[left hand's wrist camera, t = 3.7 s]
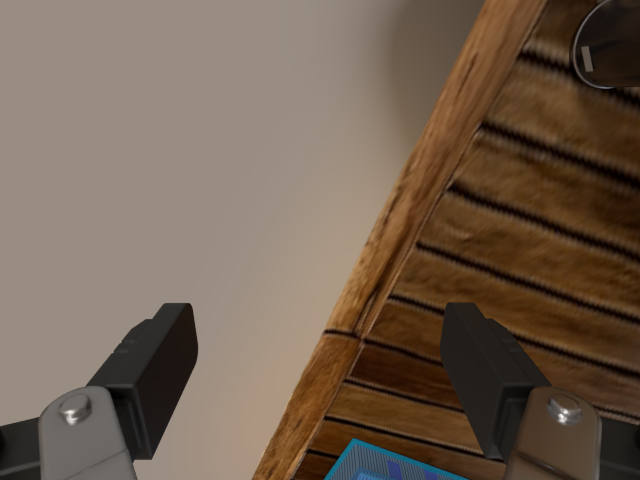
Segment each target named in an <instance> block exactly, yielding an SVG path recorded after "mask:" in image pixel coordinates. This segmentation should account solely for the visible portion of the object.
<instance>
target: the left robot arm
mask: <svg viewBox="0 0 640 480" xmlns="http://www.w3.org/2000/svg"><path fill="white" fill-rule="evenodd" d="M570 61H571V66H572V69H573V71H574V73H575V75H576V76H577V78H578V79H579V80H580V81H581V82H582V83H584V84H586V85H588V86H590V87H593V88H616V87H640V0H604V1H602V2H601V3H599V4H598V5H596V6H595V7H594V8H593V9H591V10H590V11H589V12H588V13H587V15H586V16H585V17H584V18H583V19H582V21H581V22H580V24H579V26H578V27H577V29H576V31H575V34H574V36H573V39H572V43H571V49H570ZM440 354H441V359H442V363H443V365H444V368H445V370H446V372H447V374H448V376H449V379H450V381H451V383H452V385H453V387H454V390H455V392H456V394H457V396H458V398H459V401H460V403H461V405H462V407H463V409H464V412H465V414H466V416H467V418H468V420H469V423H470V425H471V427H472V429H473V431H474V434H475V436H476V438H477V440H478V442H479V445H480V447H481V449H482V451H483V453H484V456H485V458H503V460H504V462H505V464H506V466H507V467H506V470H505V473H504V476H503V480H640V424H639V425H634V424H630V423H626V422H622V421H617V420H613V419H609V418H605V417H601V416H600V415H599V414H598V412H597V411H596V409H595V408H594V407H593V406H592V405H591V404H590V403H588V402H587V401H586V400H585V399H583V398H581V397H580V396H578V395H576V394H574V393H572V392H570V391H568V390H565V389H562V388H558V387H553V386H552V385H551V384H550V382H549V381H548V380H547V379H546V377H545V376H544V375H543V374H542V372H541V371H540V370H539V369H538V367H537V366H536V365H535V364H534V362H533V361H532V360H531V359H530V357H529V356H528V355H527V354H526V352H524V350H523V349H522V347H521V346H520V345H519V343H516V340H515V338H514V337H513V336H512V335H511V333H510V332H509V331H508V330H507V328H505V327H504V326H502V325H501V324H499V323H498V322H496V321H495V320H493V319H486V318H485V317H484V316H483V314H482V313H481V311H480V310H479V309H478V307H477V306H476V305H475V304H474V303H448V304H447V305H446V308H445V314H444V321H443V328H442V335H441V342H440ZM197 355H198V342H197V335H196V328H195V321H194V315H193V309H192V306H191V304H190V303H165V304H163V305H162V307H161V308H160V309H159V311H158V312H157V313H156V315H155V316H154V317H153V319H146V320H144V321H143V322H141V323H140V324H138V325H137V326H135V327H134V328H132V329H131V330H130V331H129V333H128V334H127V335H126V336H125V338H124V339H123V340H122V343H120V344H119V345H118V346H117V348H116V349H115V350H114V353H112V354H111V355H110V356H109V357H108V359H107V360H106V361H105V362H104V364H103V365H102V366H101V367H100V369H99V370H98V371H97V372H96V374H95V375H94V376H93V377H92V379H91V380H90V381H89V382H88V384H87V385H86V386H85V387H82V388H78V389H75V390H72V391H70V392H68V393H66V394H64V395H62V396H60V397H59V398H57V399H56V400H54V401H53V402H52V403H50V404H49V405H48V406H47V407H46V408H45V409H44V411H43V412H42V414H41V415H40V417H37V418H34V419H29V420H25V421H21V422H17V423H12V424H8V425H4V426H0V480H137V476H136V473H135V470H134V467H133V462H134V460H151V459H152V458H153V455H154V453H155V451H156V449H157V447H158V445H159V442H160V440H161V438H162V436H163V434H164V432H165V429H166V427H167V425H168V423H169V421H170V418H171V416H172V414H173V412H174V410H175V408H176V406H177V403H178V401H179V399H180V397H181V395H182V392H183V390H184V388H185V386H186V384H187V382H188V379H189V377H190V375H191V373H192V371H193V369H194V367H195V364H196V361H197Z"/></svg>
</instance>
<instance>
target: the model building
mask: <svg viewBox="0 0 640 480" xmlns="http://www.w3.org/2000/svg"><path fill="white" fill-rule="evenodd" d="M324 480H469V479H466V478H463V477H461V476H458V475H455V474H452V473H449V472H447V471H444V470H441V469H438V468H436V467H433V466H430V465H427V464H424V463H422V462H419V461H416V460H413V459H411V458H408V457H405V456H402V455H399V454H397V453H394V452H391V451H388V450H386V449H383V448H380V447H377V446H374V445H372V444H369V443H366V442H363V441H361V440H358V439H355V438H353V439H352V440H351V442H350V443H349V445H348V446H347V447H346V449H345V450H344V452H343V453H342V454H341V456H340V457H339V459H338V460H337V462H336V463H335V464H334V466H333V467H332V469H331V470H330V471H329V473H328V474H327V476H326V477H325V479H324Z"/></svg>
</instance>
